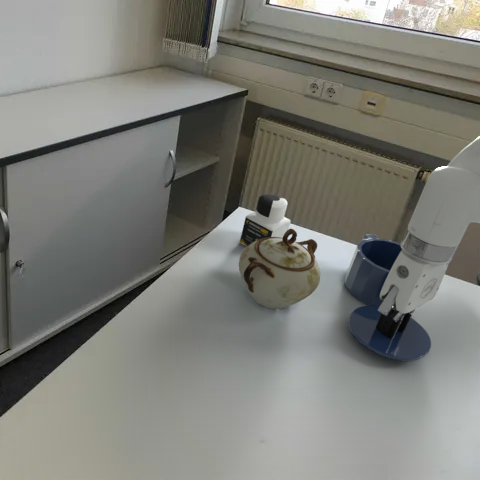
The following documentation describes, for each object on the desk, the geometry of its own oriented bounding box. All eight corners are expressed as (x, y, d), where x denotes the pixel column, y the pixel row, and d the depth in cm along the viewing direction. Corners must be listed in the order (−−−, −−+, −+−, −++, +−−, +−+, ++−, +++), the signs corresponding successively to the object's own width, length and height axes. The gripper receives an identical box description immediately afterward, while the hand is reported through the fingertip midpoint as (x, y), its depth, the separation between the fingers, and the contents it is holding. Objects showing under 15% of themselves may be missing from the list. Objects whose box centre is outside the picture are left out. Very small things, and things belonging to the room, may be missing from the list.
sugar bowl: (275, 261, 116) (293, 200, 107) (333, 301, 106) (358, 237, 97) (208, 290, 105) (222, 224, 97) (265, 336, 95) (286, 267, 87)
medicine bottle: (238, 242, 121) (250, 195, 114) (257, 233, 125) (269, 187, 118) (265, 257, 117) (278, 209, 110) (283, 247, 121) (297, 200, 114)
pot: (385, 265, 118) (399, 232, 113) (428, 320, 103) (447, 285, 98) (330, 263, 117) (342, 229, 112) (365, 318, 102) (381, 283, 97)
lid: (404, 310, 102) (415, 287, 99) (444, 363, 91) (458, 339, 88) (335, 309, 101) (344, 285, 98) (366, 363, 90) (378, 338, 87)
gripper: (421, 270, 79) (380, 360, 89) (478, 242, 87) (434, 327, 97) (377, 245, 84) (342, 332, 94) (434, 220, 92) (397, 304, 102)
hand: (389, 329), depth 96 cm, fingers closed on lid, 2 cm apart
